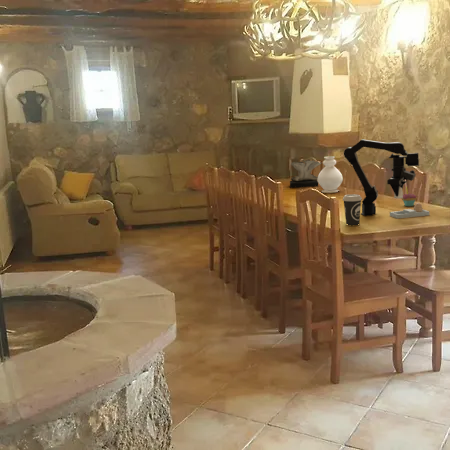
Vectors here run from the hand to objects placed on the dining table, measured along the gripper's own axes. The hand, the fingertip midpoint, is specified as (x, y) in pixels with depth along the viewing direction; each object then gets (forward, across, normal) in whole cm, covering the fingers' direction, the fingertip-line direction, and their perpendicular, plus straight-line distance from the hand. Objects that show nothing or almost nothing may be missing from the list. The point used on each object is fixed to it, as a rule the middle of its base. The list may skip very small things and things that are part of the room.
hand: (398, 195), depth 286 cm
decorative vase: (+11, +71, +71) cm, 101 cm away
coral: (+11, +92, +100) cm, 137 cm away
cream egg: (+1, 0, 0) cm, 1 cm away
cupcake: (+11, +29, +3) cm, 31 cm away
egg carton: (+11, -3, -7) cm, 13 cm away
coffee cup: (+11, -31, +14) cm, 35 cm away
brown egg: (+10, 0, -10) cm, 14 cm away
